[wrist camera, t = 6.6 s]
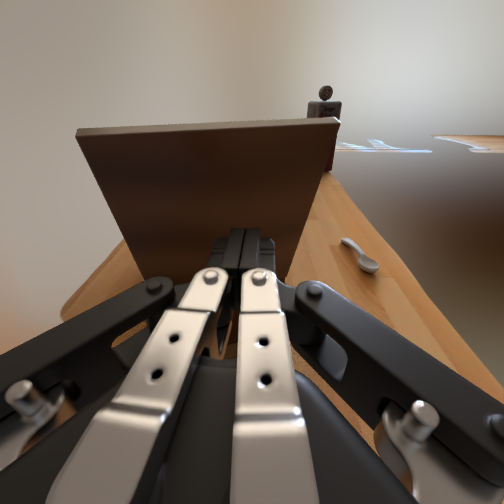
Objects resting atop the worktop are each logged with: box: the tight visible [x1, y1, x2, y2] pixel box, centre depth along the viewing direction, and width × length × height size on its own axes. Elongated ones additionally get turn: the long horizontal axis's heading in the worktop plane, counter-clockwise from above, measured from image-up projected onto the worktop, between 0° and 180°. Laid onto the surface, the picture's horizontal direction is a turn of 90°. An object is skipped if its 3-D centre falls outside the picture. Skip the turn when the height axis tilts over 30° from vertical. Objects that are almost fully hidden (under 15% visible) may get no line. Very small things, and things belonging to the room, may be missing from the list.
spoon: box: [341, 238, 379, 273], centre depth 46 cm, size 3×12×2 cm, turn 5°
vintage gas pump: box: [307, 86, 342, 171], centre depth 93 cm, size 9×11×28 cm
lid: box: [75, 117, 341, 286], centre depth 19 cm, size 16×14×1 cm
